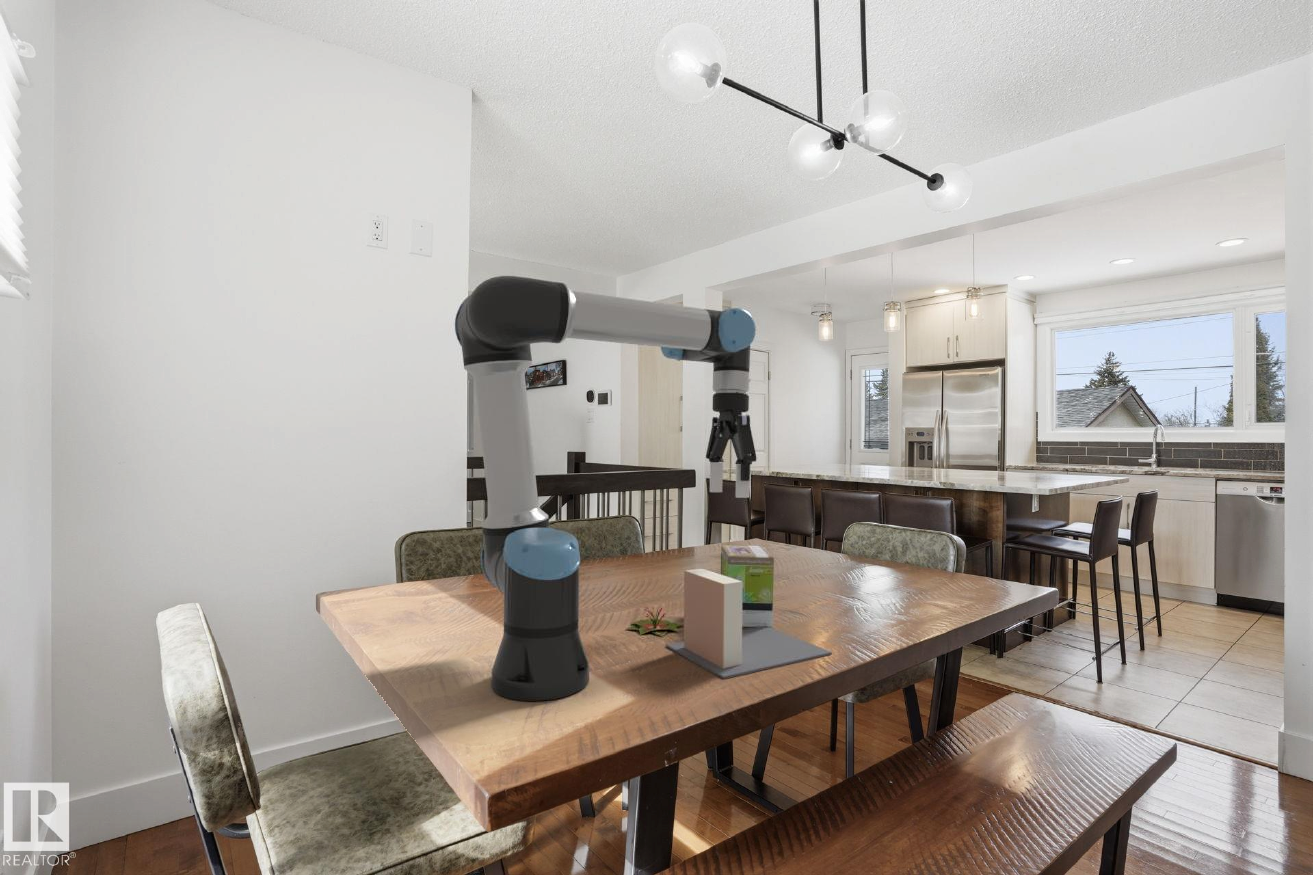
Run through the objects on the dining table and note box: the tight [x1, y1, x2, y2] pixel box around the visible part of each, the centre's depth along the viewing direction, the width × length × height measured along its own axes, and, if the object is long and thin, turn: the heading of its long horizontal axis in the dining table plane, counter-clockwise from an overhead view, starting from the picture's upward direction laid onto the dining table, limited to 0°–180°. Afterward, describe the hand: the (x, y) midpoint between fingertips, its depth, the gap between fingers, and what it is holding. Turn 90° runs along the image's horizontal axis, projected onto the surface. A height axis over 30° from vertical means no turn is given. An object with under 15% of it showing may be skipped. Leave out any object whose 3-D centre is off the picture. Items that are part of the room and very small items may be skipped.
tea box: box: [720, 544, 775, 628], centre depth 135 cm, size 15×10×15 cm
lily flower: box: [626, 606, 683, 638], centre depth 127 cm, size 12×12×5 cm
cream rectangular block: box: [683, 568, 743, 668], centre depth 110 cm, size 4×12×14 cm, turn 30°
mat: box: [665, 626, 833, 680], centre depth 113 cm, size 24×18×1 cm
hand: (728, 494), depth 129 cm, fingers open, 13 cm apart
